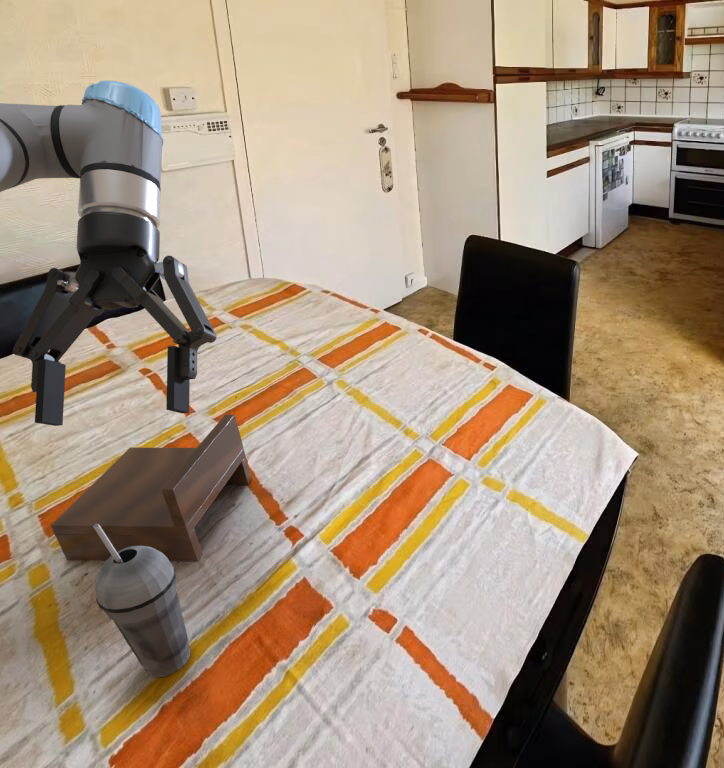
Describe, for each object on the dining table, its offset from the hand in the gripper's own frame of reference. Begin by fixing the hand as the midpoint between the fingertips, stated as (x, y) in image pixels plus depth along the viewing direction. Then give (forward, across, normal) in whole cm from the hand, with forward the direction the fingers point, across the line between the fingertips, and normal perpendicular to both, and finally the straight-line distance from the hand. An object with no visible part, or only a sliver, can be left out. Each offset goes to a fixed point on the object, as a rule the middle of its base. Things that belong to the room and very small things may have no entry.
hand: (113, 418), depth 63 cm
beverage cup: (+26, +1, -11) cm, 28 cm away
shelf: (+9, +13, -30) cm, 34 cm away
